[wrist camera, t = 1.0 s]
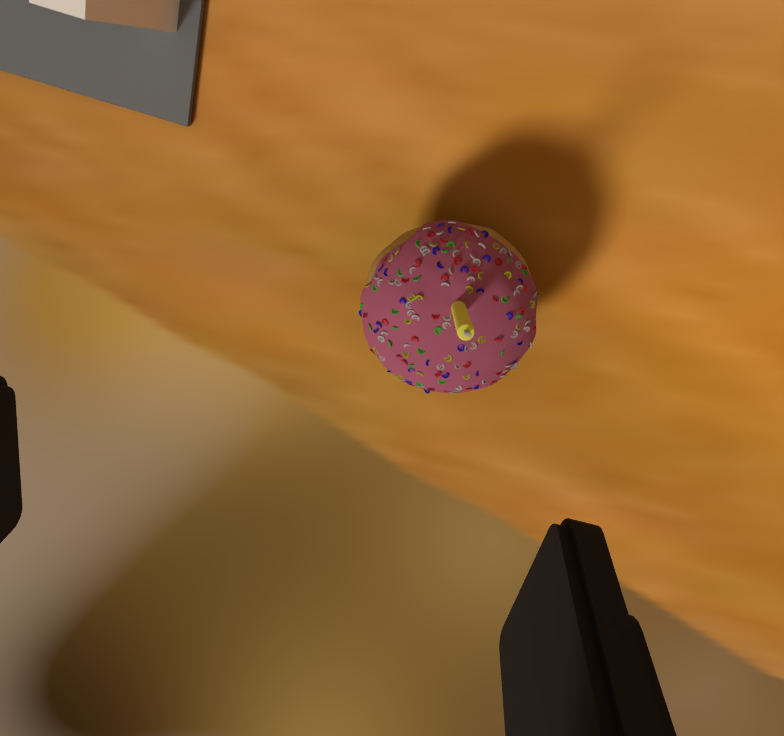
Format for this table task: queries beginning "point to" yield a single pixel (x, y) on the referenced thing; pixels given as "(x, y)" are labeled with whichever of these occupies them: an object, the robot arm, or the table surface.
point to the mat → (106, 57)
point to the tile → (121, 11)
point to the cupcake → (449, 307)
